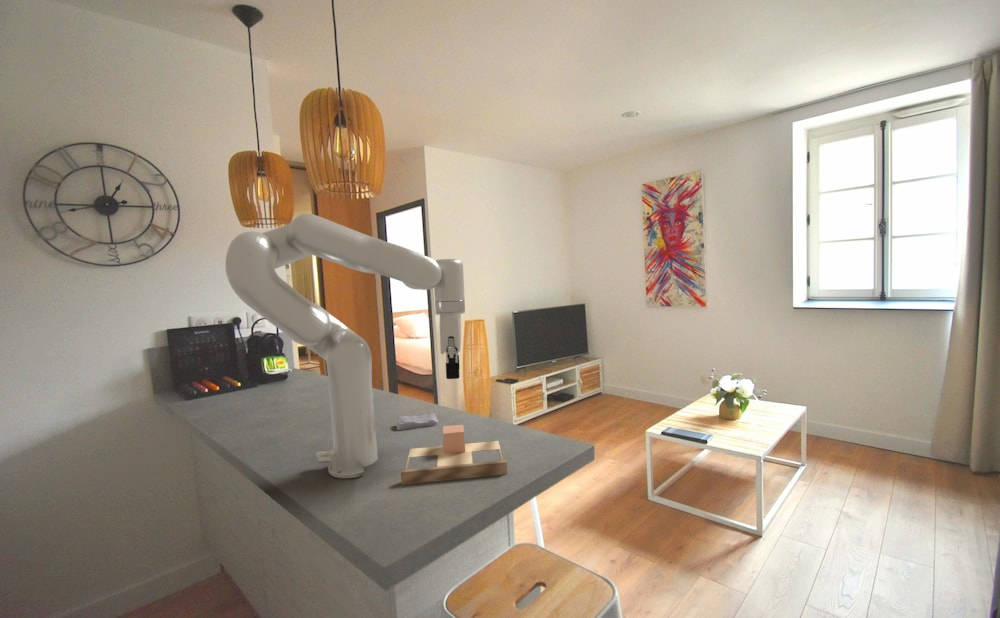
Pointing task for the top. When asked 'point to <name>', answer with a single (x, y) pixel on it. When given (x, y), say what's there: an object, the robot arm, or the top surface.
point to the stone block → (416, 421)
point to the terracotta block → (453, 439)
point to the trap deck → (453, 464)
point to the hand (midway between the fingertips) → (453, 374)
